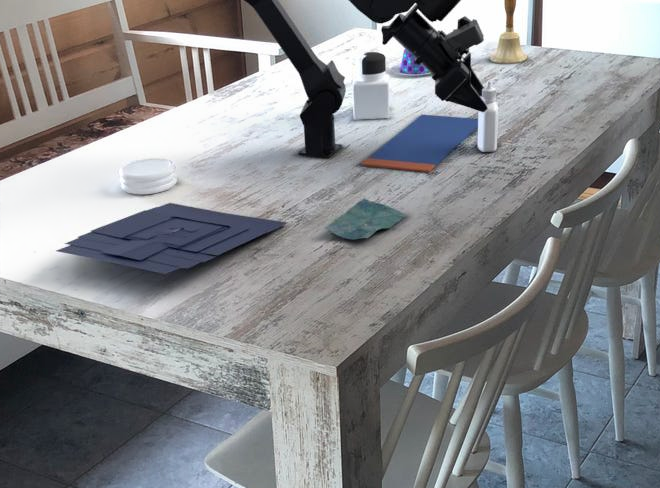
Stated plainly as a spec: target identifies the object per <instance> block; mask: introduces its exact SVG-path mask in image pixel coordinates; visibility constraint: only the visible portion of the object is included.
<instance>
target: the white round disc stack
mask: <svg viewBox="0 0 660 488" xmlns="http://www.w3.org/2000/svg"><path fill="white" fill-rule="evenodd" d="M118 172H119V173H118V174H119V176H120V178H119V181H120V183H121V184H120V186H121V189H122V190H123V191H125V192H126V193H128V194H131V195H153V194H159V193H161V192H165V191H167V190H169V189H172V188H173V187H174V186H175V185H177V181H178V178H177V171H176V165H175V163H174V162H173V161H172V160H169V159H166V158H160V157H151V158H149V157H148V158H141V159H137V160H134V161H133V160H132V161H130V162H128V163H125V164H123V165H122V167H121V168H120V169H119V171H118Z"/></svg>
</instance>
